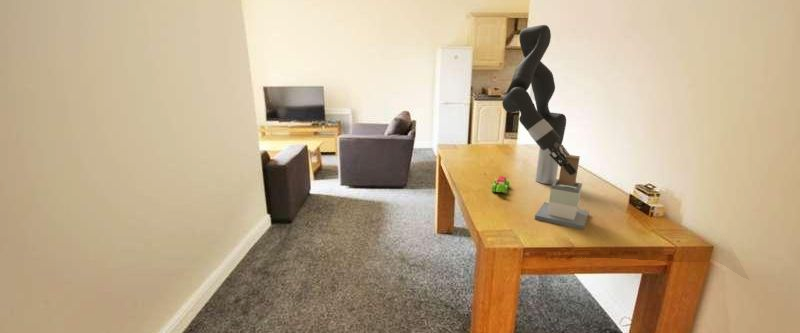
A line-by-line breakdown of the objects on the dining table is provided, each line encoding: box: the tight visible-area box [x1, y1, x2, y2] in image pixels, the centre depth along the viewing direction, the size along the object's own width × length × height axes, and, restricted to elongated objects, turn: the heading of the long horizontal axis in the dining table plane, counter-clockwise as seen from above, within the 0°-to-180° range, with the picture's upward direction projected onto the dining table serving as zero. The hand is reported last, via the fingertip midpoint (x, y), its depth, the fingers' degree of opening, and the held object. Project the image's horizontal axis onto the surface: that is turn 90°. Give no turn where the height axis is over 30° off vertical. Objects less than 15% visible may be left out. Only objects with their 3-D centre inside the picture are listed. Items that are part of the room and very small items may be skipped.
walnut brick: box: [558, 154, 581, 186], centre depth 128 cm, size 5×5×10 cm
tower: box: [534, 178, 590, 231], centre depth 131 cm, size 16×16×13 cm
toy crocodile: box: [491, 175, 510, 194], centre depth 161 cm, size 20×7×6 cm, turn 159°
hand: (574, 171), depth 127 cm, fingers closed on walnut brick, 5 cm apart
